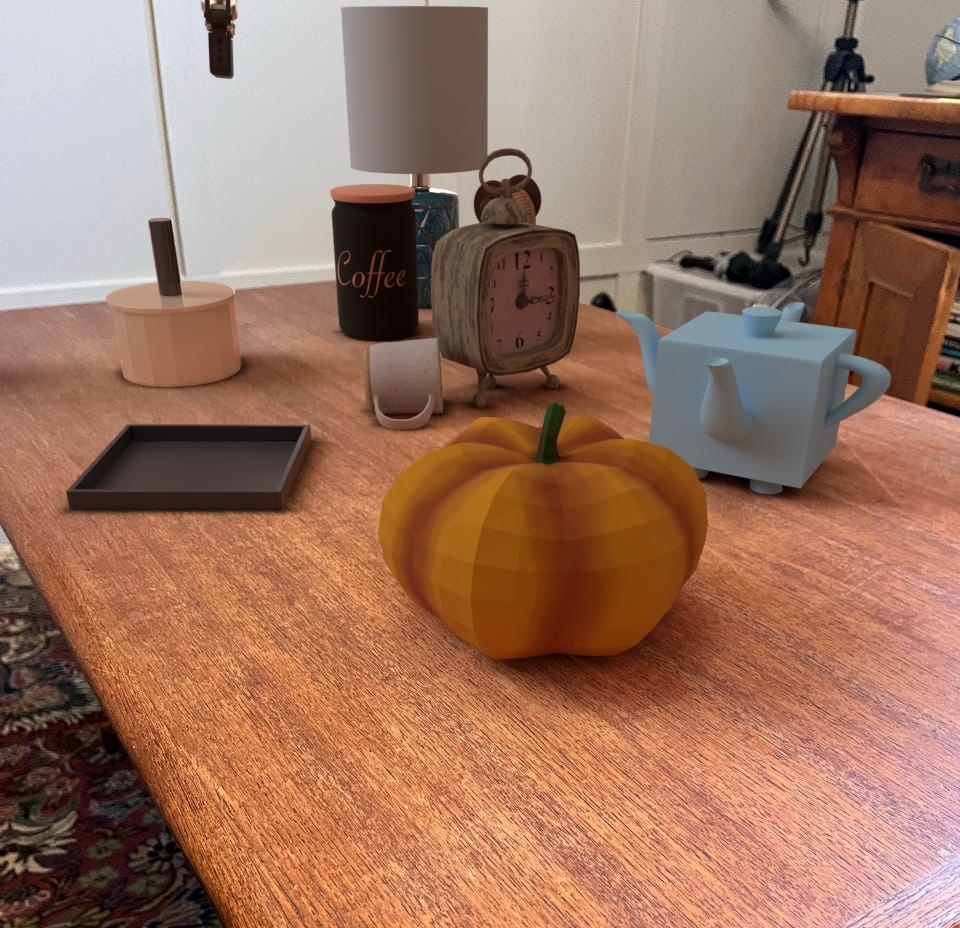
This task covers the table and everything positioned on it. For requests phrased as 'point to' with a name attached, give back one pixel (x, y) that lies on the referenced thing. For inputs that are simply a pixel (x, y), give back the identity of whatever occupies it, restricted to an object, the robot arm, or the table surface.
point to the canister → (178, 346)
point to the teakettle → (753, 391)
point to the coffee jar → (375, 261)
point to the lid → (168, 282)
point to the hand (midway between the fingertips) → (222, 77)
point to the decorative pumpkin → (545, 535)
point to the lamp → (418, 105)
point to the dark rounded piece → (527, 196)
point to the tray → (194, 468)
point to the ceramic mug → (403, 381)
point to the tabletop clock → (505, 290)
